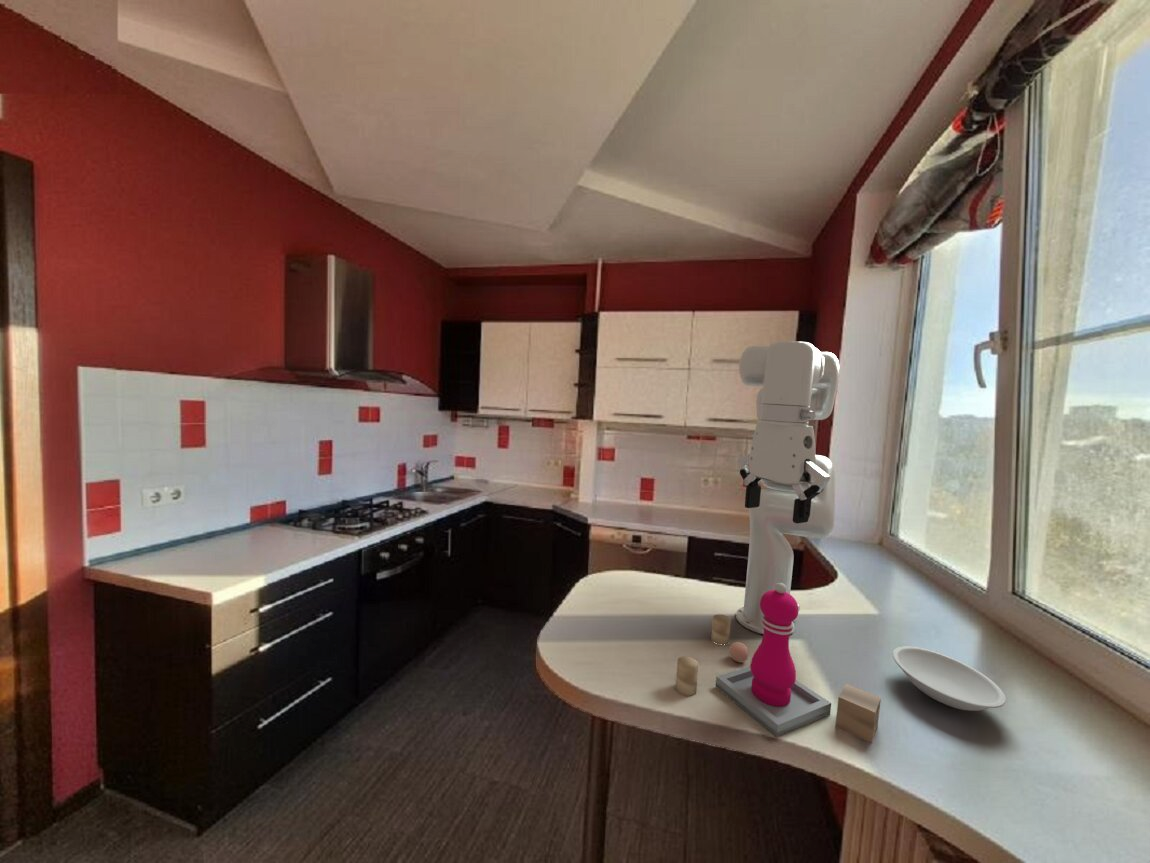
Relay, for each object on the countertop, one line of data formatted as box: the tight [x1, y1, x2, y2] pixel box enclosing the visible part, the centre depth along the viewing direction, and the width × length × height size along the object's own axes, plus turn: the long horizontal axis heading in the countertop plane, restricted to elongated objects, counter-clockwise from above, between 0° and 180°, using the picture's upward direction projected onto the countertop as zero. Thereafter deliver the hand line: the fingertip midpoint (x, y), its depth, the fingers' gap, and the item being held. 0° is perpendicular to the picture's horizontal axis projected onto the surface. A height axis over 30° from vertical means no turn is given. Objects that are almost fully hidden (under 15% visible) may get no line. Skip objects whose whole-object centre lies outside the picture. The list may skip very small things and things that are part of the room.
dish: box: [892, 645, 1007, 712], centre depth 82 cm, size 18×14×5 cm
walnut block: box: [834, 683, 882, 744], centre depth 73 cm, size 5×5×5 cm
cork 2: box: [710, 614, 732, 646], centre depth 97 cm, size 4×4×5 cm
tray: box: [714, 665, 832, 738], centre depth 79 cm, size 13×13×2 cm
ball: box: [729, 641, 750, 663], centre depth 90 cm, size 4×4×4 cm
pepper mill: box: [749, 583, 800, 707], centre depth 78 cm, size 7×7×20 cm
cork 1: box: [675, 656, 699, 697], centre depth 80 cm, size 4×4×5 cm
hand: (774, 514), depth 79 cm, fingers open, 9 cm apart
